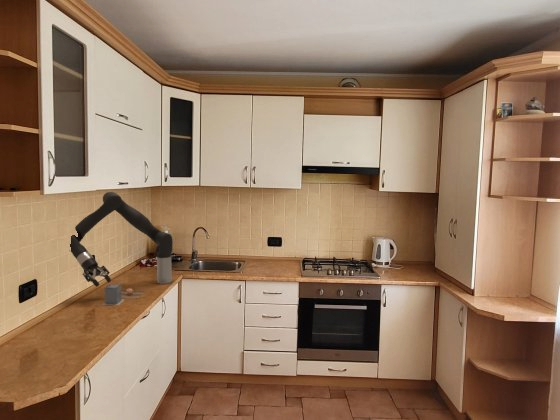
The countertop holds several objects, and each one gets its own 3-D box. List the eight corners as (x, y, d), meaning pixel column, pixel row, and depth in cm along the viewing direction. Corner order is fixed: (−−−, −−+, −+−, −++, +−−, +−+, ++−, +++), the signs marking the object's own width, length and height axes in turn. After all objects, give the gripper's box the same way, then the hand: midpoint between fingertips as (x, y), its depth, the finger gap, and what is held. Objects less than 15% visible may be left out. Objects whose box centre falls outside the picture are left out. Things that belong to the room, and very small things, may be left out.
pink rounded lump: (127, 293, 224) (127, 288, 223) (133, 293, 224) (133, 288, 223) (125, 295, 220) (125, 290, 220) (131, 295, 220) (131, 290, 220)
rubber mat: (108, 301, 213) (108, 299, 213) (125, 301, 214) (124, 299, 214) (101, 306, 204) (101, 304, 204) (118, 306, 205) (118, 304, 205)
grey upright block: (110, 300, 212) (109, 284, 211) (121, 300, 212) (121, 284, 211) (105, 304, 206) (104, 287, 205) (117, 304, 206) (116, 287, 205)
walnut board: (122, 292, 229) (122, 290, 229) (145, 292, 229) (145, 290, 229) (112, 300, 215) (112, 298, 215) (137, 300, 215) (137, 298, 215)
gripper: (80, 260, 205) (97, 282, 202) (100, 254, 218) (117, 276, 216) (73, 268, 207) (90, 291, 204) (93, 263, 220) (110, 284, 218)
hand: (104, 283), depth 210 cm, fingers open, 8 cm apart
